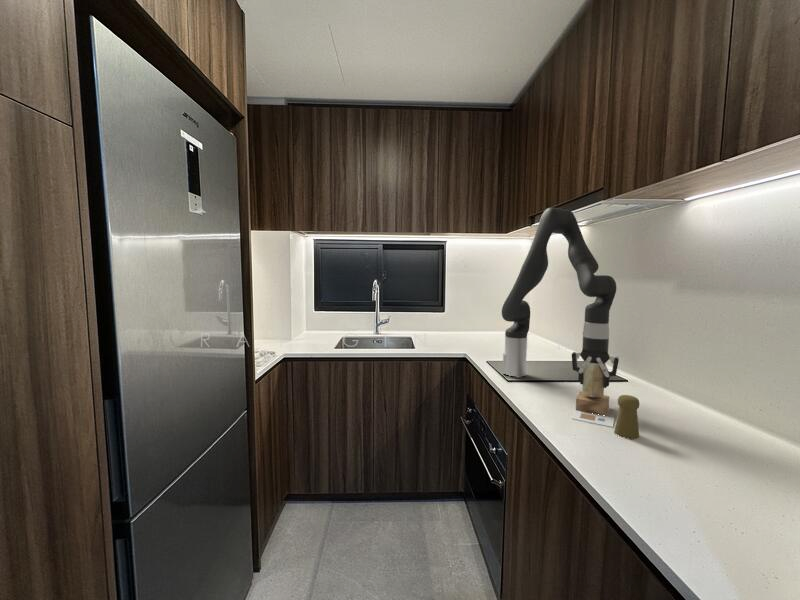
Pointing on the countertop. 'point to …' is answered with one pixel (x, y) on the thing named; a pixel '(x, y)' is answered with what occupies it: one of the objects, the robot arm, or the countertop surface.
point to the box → (593, 380)
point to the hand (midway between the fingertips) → (593, 385)
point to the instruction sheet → (593, 418)
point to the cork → (627, 417)
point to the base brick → (592, 404)
